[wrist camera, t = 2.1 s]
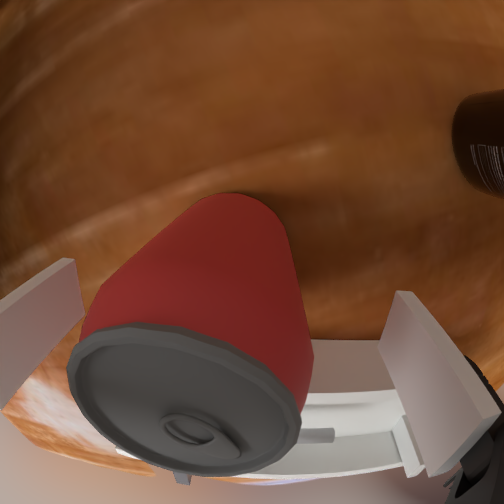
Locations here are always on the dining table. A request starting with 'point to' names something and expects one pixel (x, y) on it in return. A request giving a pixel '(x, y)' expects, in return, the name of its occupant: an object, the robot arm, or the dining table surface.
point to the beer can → (200, 345)
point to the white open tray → (348, 418)
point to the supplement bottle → (481, 141)
